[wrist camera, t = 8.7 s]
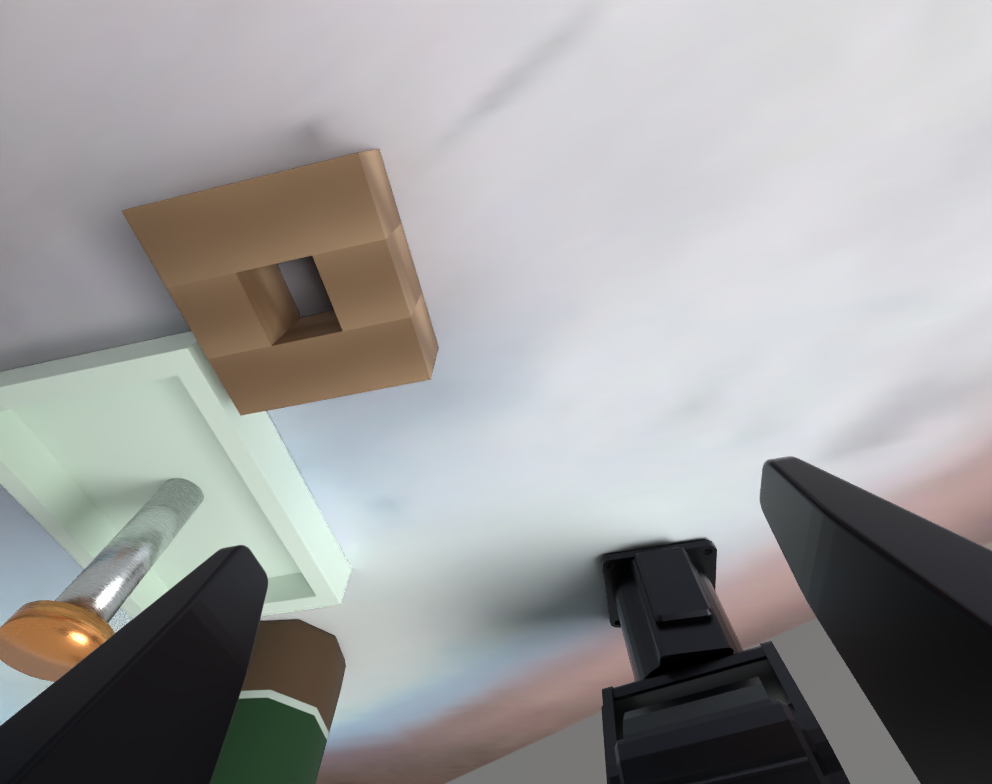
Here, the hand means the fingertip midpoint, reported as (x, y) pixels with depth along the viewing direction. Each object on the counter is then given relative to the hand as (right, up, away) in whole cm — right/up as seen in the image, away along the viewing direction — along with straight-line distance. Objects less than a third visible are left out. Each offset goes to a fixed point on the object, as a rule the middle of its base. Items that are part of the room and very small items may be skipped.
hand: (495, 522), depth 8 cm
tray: (-16, -3, +16) cm, 23 cm away
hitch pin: (-16, -3, +16) cm, 23 cm away
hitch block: (-7, +7, +11) cm, 15 cm away
